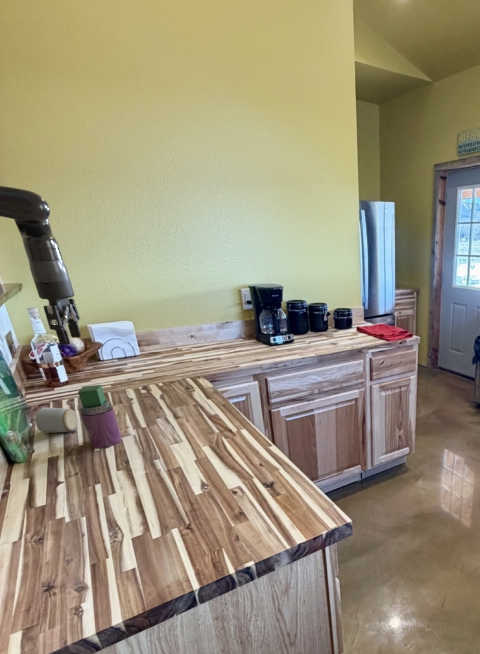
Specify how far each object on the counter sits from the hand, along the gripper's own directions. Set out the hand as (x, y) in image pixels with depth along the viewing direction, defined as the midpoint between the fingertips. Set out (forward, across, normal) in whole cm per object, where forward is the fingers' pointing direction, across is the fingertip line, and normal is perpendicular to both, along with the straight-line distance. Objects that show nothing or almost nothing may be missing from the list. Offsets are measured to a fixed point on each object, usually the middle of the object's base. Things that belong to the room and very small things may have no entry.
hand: (71, 340), depth 114 cm
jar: (+29, +5, +3) cm, 30 cm away
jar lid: (+17, +5, +3) cm, 18 cm away
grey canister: (+29, -8, -12) cm, 33 cm away
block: (+17, +5, +3) cm, 18 cm away
